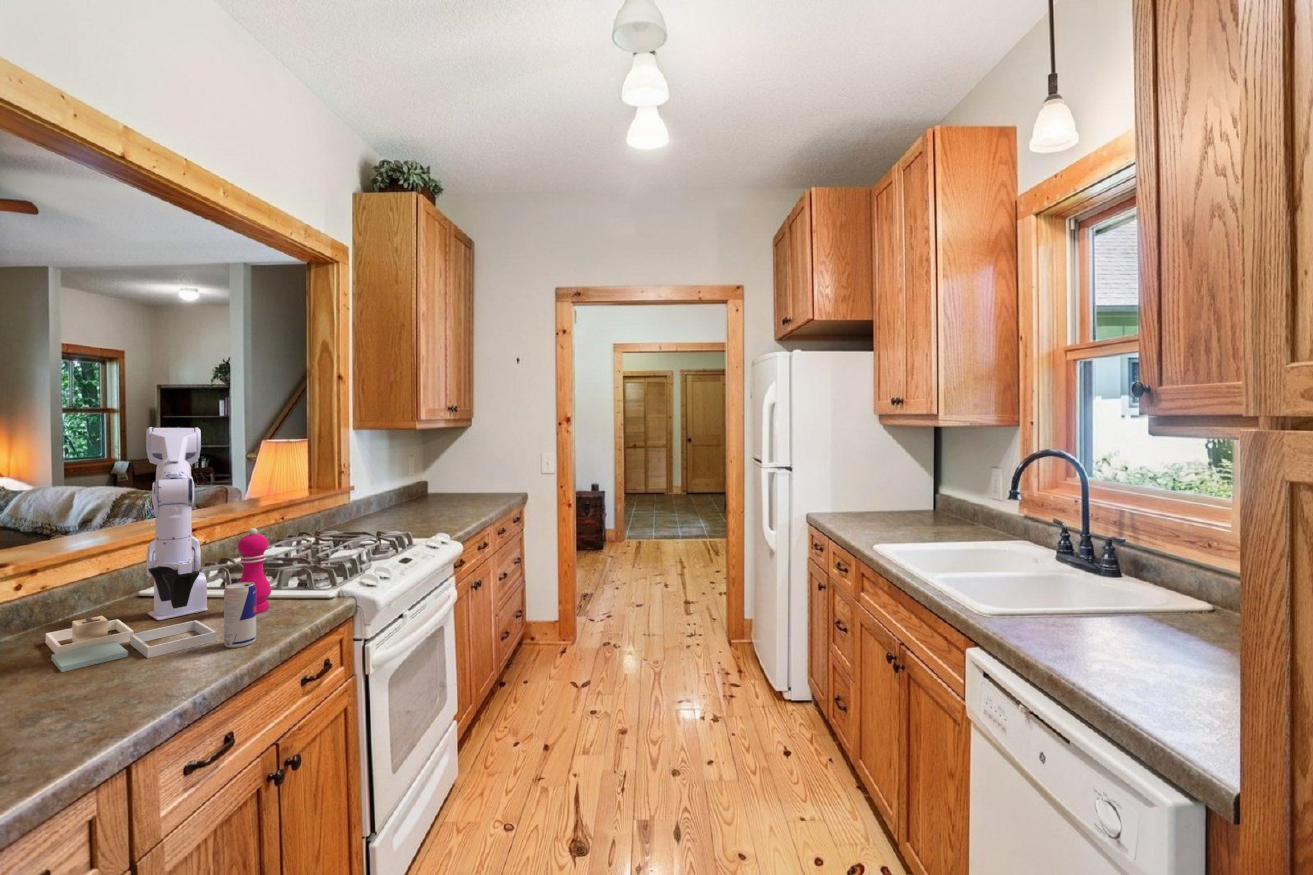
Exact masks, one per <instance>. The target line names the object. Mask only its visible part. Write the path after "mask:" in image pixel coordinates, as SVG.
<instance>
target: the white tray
mask: <svg viewBox="0 0 1313 875" xmlns="http://www.w3.org/2000/svg"><path fill="white" fill-rule="evenodd" d="M114 630H116V631H117V633H114V634H110V635H108V636H104V637H99V638H94V639H89V640H85V641H80V642H75V643H72V642H70V643H66V644H63V645H61V644H60V642H61V641H66V640H70V639H71V640H72V627H71V628H66V629H61V630H57V631H52V632H46V633H45V644H46V645H47V646H48V648H49V649H50V650H51V652H53V654H58V653H62V652H67V651H72V650H76V649H81V648H86V647H90V646H95V645H99V644H104V643H109V642H113V641H116V642H117V643H118V644H120V645H121V644H125V643H128V642H129V643H130V634H134V632H135V631H134V630H133V629H132V628H131V627H129V626H128V625H127V624H125V623H124V622H122V620H120V619H112V620H108V632H109V631H114Z"/></svg>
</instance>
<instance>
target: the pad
mask: <svg viewBox="0 0 1313 875" xmlns="http://www.w3.org/2000/svg"><path fill="white" fill-rule="evenodd" d="M127 657H129V650H127V649H126V648H124V647H123V646H122V645H121V643H120V644H118V643H117V642H116V641H113V642H109V643H104V644H99V645H95V646H90V647H86V648H81V649H76V650H72V651H67V652H62V653H58V654H55V653H53V654H51V662H53V664H54V665H55V667H56V668H57V669H58V670H59V671H60V672H61V673H65V672H67V671H72V670H77V669H81V668H82V669H83V668H85V667H90V666H94V665H98V664H102V663H103V664H104V663H107V662H111V661H115V660H119V659H123V658H127Z"/></svg>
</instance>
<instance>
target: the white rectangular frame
mask: <svg viewBox="0 0 1313 875" xmlns="http://www.w3.org/2000/svg"><path fill="white" fill-rule="evenodd" d="M192 631H193V632H194V631H195V632H196V633H198V635H194V636H190V637H186V638H181V639H178V640H172V641H168V642H164V643H160V644H155V645H151V646H150V645H149V644H148V643H146V642H149V641H153V640H157V639H158V640H159V639H162V638H167V637H171V636H177V635H181V634H184V633H189V632H192ZM217 636H218V631H216V630H214V629H213V628H211V627H209V626H207V625H206V624H204V623H202V622H201V621H199V620H197V619H195V620H191V621H186V622H182V623H177V624H172V625H168V626H163V627H158V628H153V629H149V630H143V631H140V632H136V633H134V634H130V641H129V645H130V646H132V647H133V648H134V649H136V651H138V652H139V653H140V654H142V655H143V656H144V657H145V658H146V659H150V658H154V657H155V658H156V657H159V656H162V655H167V654H172V653H175V652H178V651H183V650H187V649H191V648H192V649H193V648H195V647H200V646H205V645H209V644H211V643H216V642H217V640H218V639H217V638H218V637H217Z"/></svg>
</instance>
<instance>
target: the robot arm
mask: <svg viewBox="0 0 1313 875" xmlns="http://www.w3.org/2000/svg"><path fill="white" fill-rule="evenodd" d="M145 432H146V433H145V434H146V435H145V436H146V437H145V442H146V443H145V444H146V445H145V447H146V451H145V452H146V453H147V460H149V463H150V464H154V465H156V468H155V470H156V472H155V481H154V482H153V483H152V488H151V490H152V493H151V495H152V496H151V497H152V499H151V500H152V505H153V513H154V517H155V520H154V523H155V524H154V525H155V526H154V529H155V530H154V531H155V532H154V533H155V534H154V540H152V541H150V542H149V544H148V545H147V546H146V547H147V551H146V569H145V570H146V576H147V577H149V578H152V579H153V597H154V598H153V610H151V611H148V612H147V615H149V616H150V617H152V618H154V619H155V620H157V621H162V620H167V619H171V618H177V617H181V616H187V615H192V614H197V613H201V612H206V611H208V610H209V608H208V582H207V578H206V574H205V573H204V572H201V571H200V570H201V568H202V567H201V566H202V561H201V560H202V557H201V555H202V554H201V552H202V551H201V547H200V546H201V545H200V544H201V543H200V541H199V538H197V537H195V536H193V535H192V534H193V533H192V532H193V531H192V527H193V526H192V517H193V516H192V514H193V513H192V509H193V508H192V507H193V506H194V504H195V503H194V502H195V482H194V478H193V476H192V466H191V465H193V464H195V463H198V462H199V459H200V457H201V456H200V454H201V451H202V450H201V449H202V445H201V444H202V441H201V440H202V438H201V437H202V436H201V435H202V434H201V433H202V432H201V429H200V428H199V427H152V426H150V427H148V428H146V431H145ZM189 502H190V503H191V505H190V504H189Z"/></svg>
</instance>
